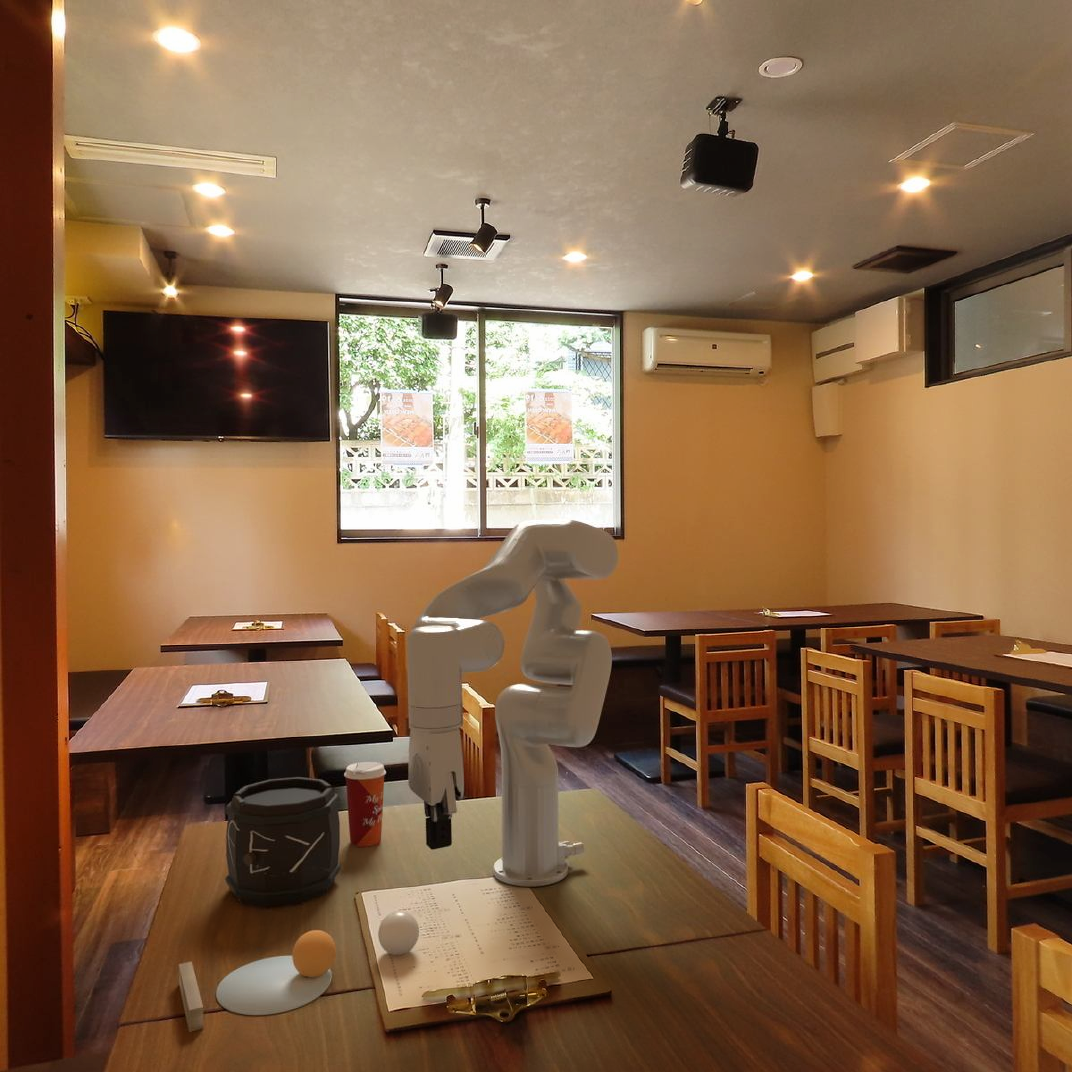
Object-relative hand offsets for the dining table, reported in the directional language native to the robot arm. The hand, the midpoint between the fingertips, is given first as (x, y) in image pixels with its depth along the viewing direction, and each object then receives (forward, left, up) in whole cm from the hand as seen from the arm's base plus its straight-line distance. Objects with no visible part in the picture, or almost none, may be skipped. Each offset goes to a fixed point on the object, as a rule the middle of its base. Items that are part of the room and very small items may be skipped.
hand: (439, 845), depth 119 cm
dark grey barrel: (+15, -30, -14) cm, 36 cm away
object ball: (+17, 0, -11) cm, 21 cm away
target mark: (+22, 0, -14) cm, 26 cm away
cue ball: (+6, 0, -11) cm, 12 cm away
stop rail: (+32, 0, -14) cm, 35 cm away
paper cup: (-3, -44, -14) cm, 46 cm away
